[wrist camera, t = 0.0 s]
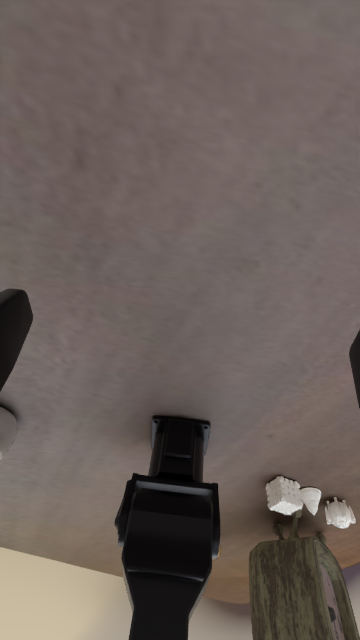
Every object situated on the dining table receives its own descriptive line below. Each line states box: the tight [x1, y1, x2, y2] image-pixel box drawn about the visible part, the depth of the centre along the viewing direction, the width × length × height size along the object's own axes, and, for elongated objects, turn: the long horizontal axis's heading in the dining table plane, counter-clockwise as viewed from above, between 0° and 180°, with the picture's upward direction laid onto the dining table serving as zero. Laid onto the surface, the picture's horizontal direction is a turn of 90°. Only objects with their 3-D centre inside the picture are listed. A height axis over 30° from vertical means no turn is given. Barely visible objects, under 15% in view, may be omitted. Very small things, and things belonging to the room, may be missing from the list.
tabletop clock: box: [249, 509, 360, 640], centre depth 40 cm, size 14×9×25 cm, turn 33°
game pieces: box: [266, 476, 356, 528], centre depth 42 cm, size 12×3×3 cm, turn 64°
